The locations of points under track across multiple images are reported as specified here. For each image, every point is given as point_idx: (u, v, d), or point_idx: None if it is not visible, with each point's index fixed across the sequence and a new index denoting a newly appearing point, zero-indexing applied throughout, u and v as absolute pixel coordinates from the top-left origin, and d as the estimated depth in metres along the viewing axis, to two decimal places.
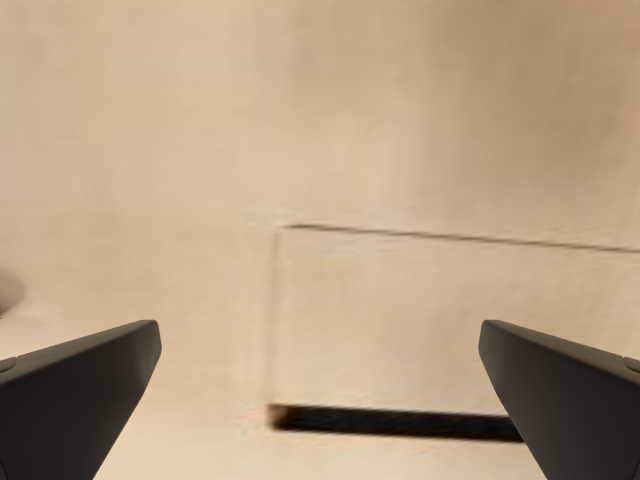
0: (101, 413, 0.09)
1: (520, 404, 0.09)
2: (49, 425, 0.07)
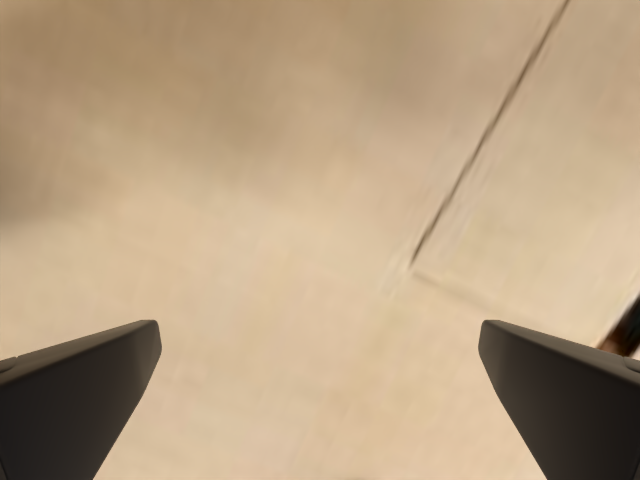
0: (101, 413, 0.09)
1: (520, 404, 0.09)
2: (49, 425, 0.07)
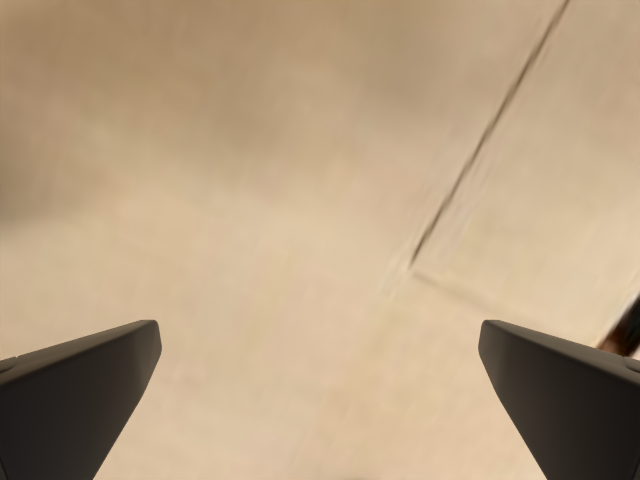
0: (101, 413, 0.09)
1: (520, 404, 0.09)
2: (49, 425, 0.07)
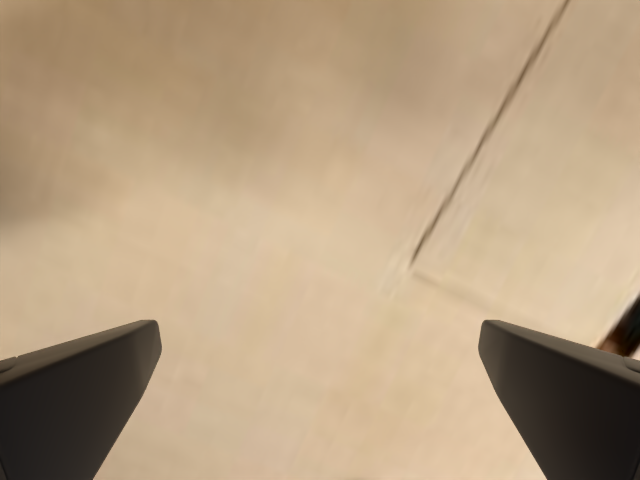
0: (101, 413, 0.09)
1: (520, 404, 0.09)
2: (49, 425, 0.07)
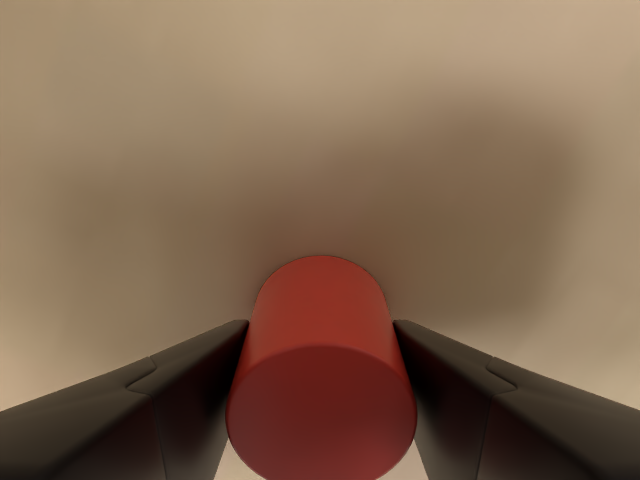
0: (219, 413, 0.09)
1: None
2: (190, 425, 0.07)
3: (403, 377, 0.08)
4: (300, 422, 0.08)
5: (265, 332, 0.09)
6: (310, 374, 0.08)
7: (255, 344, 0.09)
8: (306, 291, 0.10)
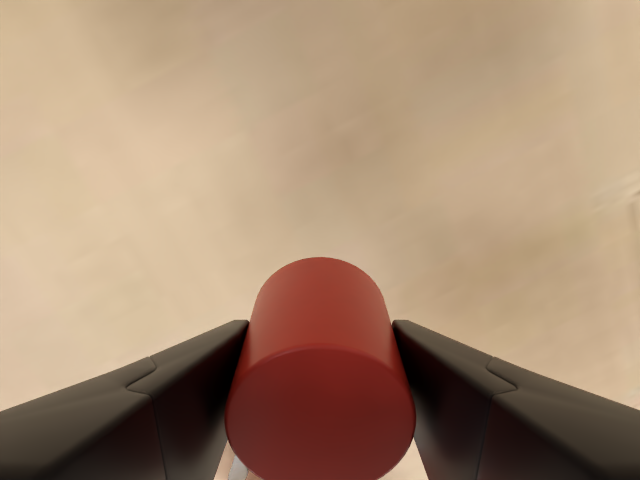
0: (220, 413, 0.09)
1: None
2: (191, 425, 0.07)
3: (402, 379, 0.08)
4: (299, 423, 0.08)
5: (263, 334, 0.09)
6: (309, 376, 0.08)
7: (255, 346, 0.09)
8: (305, 292, 0.10)
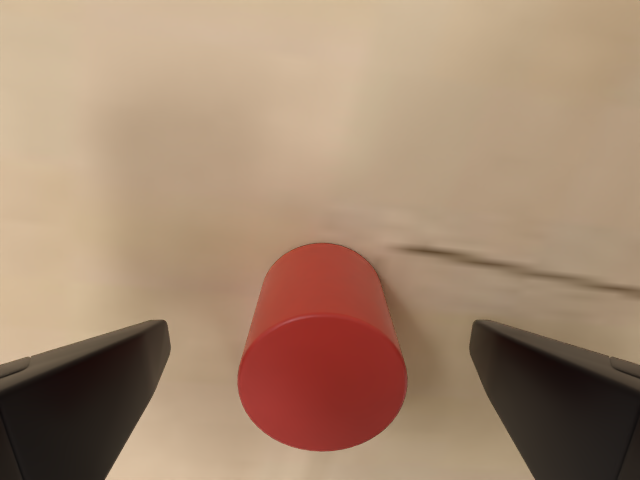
0: (113, 413, 0.09)
1: (509, 404, 0.09)
2: (63, 425, 0.07)
3: (394, 345, 0.09)
4: (304, 385, 0.09)
5: (272, 307, 0.10)
6: (312, 342, 0.09)
7: (264, 317, 0.10)
8: (309, 272, 0.11)
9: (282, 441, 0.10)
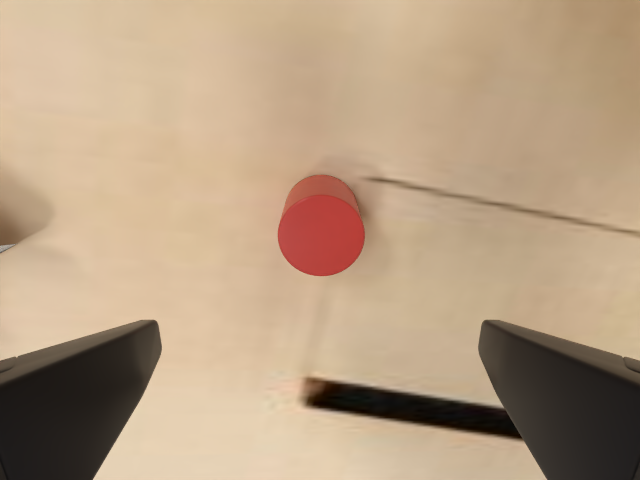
0: (101, 413, 0.09)
1: (520, 404, 0.09)
2: (49, 425, 0.07)
3: (357, 212, 0.18)
4: (312, 235, 0.19)
5: (295, 198, 0.19)
6: (316, 210, 0.18)
7: (291, 202, 0.19)
8: (314, 184, 0.20)
9: (300, 269, 0.19)
